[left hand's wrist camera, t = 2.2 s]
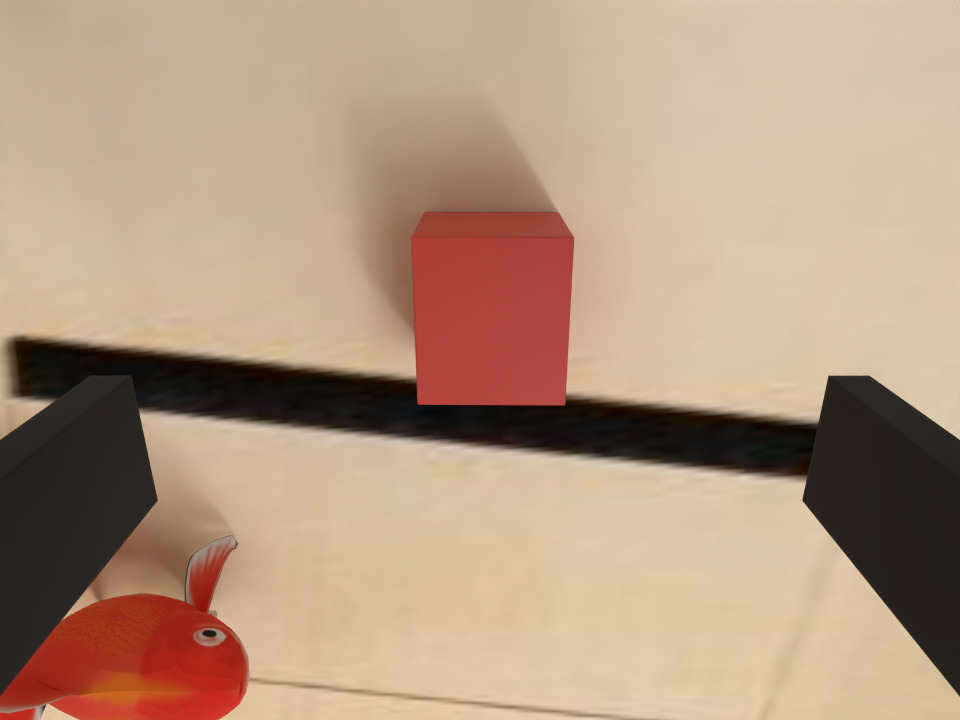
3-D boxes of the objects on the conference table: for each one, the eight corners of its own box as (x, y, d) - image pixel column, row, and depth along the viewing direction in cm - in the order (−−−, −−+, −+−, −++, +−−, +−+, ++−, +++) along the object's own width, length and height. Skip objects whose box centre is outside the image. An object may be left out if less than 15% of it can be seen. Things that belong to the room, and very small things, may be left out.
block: (424, 212, 22) (411, 236, 18) (559, 211, 22) (574, 236, 18) (429, 354, 24) (417, 405, 20) (552, 355, 24) (565, 406, 20)
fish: (260, 834, 26) (6, 1068, 17) (8, 650, 32) (-291, 749, 22) (347, 581, 26) (135, 676, 16) (77, 438, 31) (-199, 448, 22)
